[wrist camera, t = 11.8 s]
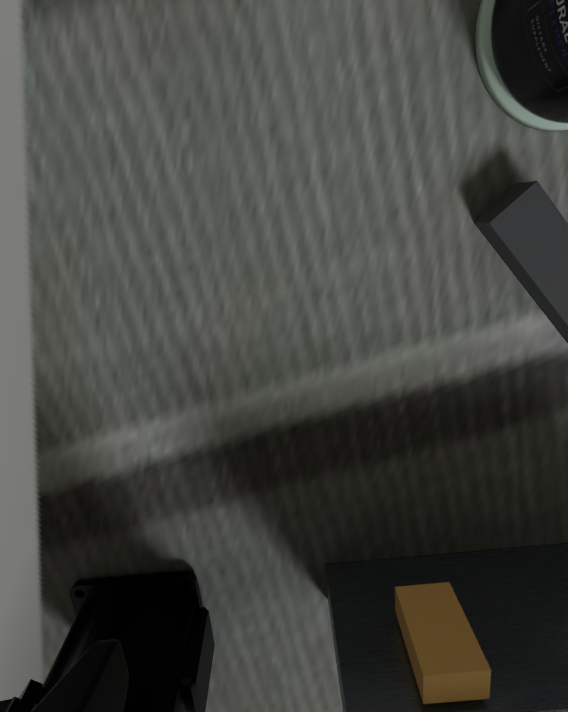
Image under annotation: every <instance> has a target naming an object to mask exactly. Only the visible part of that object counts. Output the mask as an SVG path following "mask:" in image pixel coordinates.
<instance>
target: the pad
mask: <svg viewBox="0 0 568 712" xmlns="http://www.w3.org/2000/svg"><path fill="white" fill-rule="evenodd" d="M494 1H495V0H481V3H480V6H479V11H478V16H477V21H476V32H475V48H476V57H477V64H478V67H479V71H480V75H481V78H482V80H483V82H484V85H485V87H486V89H487V91H488V93H489V94H490V96H491V98H492V99H493V100H494V102H495V103H496V104H497V105H498V107H499V108H500V109H501V110H502V111H503V112H504V113H506V114H507V115H508V116H509V117H511V118H512V119H514V120H515V121H517V122H518V123H520V124H523V125H525V126H527V127H530V128H534V129H537V130H544V131H564V130H568V123H557V122H552V121H548V120H545V119H542V118H540V117H537V116H535V115H533V114H532V113H530V112H528V111H527V110H525V109H524V108H523V107H521V106H520V105H519V104H518V103H517V102H516V101H515V100H514V99H513V98H512V96H511V95H510V94H509V92H508V91H507V90H506V88H505V86H504V85H503V83H502V81H501V79H500V77H499V74H498V72H497V69H496V66H495V62H494V58H493V53H492V46H491V18H492V11H493V5H494Z"/></svg>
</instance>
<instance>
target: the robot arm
mask: <svg viewBox="0 0 568 712" xmlns="http://www.w3.org/2000/svg"><path fill="white" fill-rule="evenodd" d="M184 581H188V582H189V583H186V582H184ZM80 590H82V591H83V592H82V591H80ZM70 596H71V600H72V603H73V607H74V610H75V613H76V619H75V621H74V623H73V625H72V627H71V629H70V631H69V633H68V635H67V637H66V639H65V641H64V643H63V645H62V647H61V649H60V651H59V653H58V655H57V657H56V659H55V661H54V663H53V665H52V667H51V669H50V671H49V673H48V675H47V677H46V679H45V682H44V684H41V683H39V682H36V681H34V680H32V679H31V680H30V681H29V683H28V685H27V686H26V688H25V689H24V691H23V692H22V694H21V695H20V697H19V698H16V697H13V699H9V700H4V701H0V712H205V709H206V702H207V695H208V688H209V681H210V674H211V667H212V660H213V653H214V639H213V633H212V628H211V622H210V617H209V611H208V610H207V609H206V608H205V607H202V603H201V598H200V593H199V587H198V582H197V577H196V575H195V574H194V573H193V572H190V571H180V572H169V573H157V574H146V575H134V576H123V577H111V578H100V579H88V580H79V581H77V582H75V583H74V585H73V587H72V589H71V591H70Z"/></svg>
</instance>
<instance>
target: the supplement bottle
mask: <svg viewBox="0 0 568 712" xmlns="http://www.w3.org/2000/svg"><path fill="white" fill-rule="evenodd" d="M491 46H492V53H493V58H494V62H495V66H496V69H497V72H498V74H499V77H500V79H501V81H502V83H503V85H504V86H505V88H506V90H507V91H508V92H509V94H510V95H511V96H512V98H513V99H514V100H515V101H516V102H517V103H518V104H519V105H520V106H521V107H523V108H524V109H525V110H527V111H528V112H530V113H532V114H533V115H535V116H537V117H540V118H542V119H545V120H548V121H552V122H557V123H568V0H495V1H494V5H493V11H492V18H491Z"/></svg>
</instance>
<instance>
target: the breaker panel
mask: <svg viewBox="0 0 568 712" xmlns="http://www.w3.org/2000/svg"><path fill="white" fill-rule="evenodd" d="M325 567H326V580H327V593H328V604H329V611H330V618H331V626H332V633H333V640H334V648H335V655H336V662H337V670H338V677H339V684H340V692H341V699H342V706H343V712H568V544H557V545H545V546H534V547H522V548H511V549H499V550H488V551H476V552H465V553H453V554H442V555H430V556H419V557H407V558H396V559H384V560H373V561H361V562H350V563H338V564H327V565H325ZM445 582H450V584H451V586H452V588H453V591H454V593H455V595H456V597H457V599H458V601H459V603H460V605H461V607H462V610H463V612H464V614H465V616H466V618H467V620H468V622H469V624H470V626H471V629H472V631H473V633H474V635H475V637H476V639H477V641H478V643H479V645H480V648H481V650H482V652H483V654H484V656H485V658H486V660H487V662H488V664H489V666H490V669H491V681H490V696H489V699H479V700H467V701H455V702H443V703H431V704H423V701H422V698H421V695H420V691H419V688H418V685H417V682H416V678H415V675H414V672H413V668H412V665H411V662H410V658H409V655H408V652H407V648H406V645H405V642H404V639H403V635H402V632H401V629H400V625H399V622H398V619H397V615H396V612H395V587H398V586H410V585H421V584H433V583H445Z"/></svg>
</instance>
